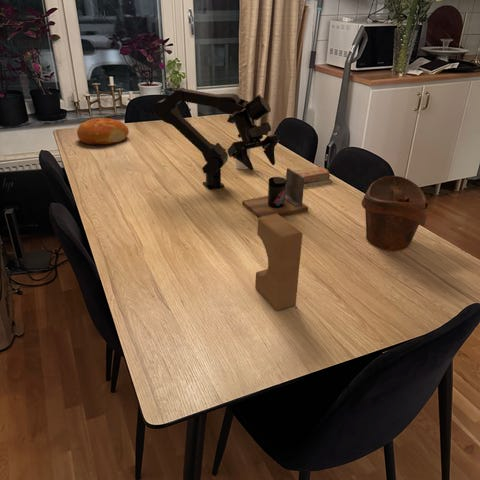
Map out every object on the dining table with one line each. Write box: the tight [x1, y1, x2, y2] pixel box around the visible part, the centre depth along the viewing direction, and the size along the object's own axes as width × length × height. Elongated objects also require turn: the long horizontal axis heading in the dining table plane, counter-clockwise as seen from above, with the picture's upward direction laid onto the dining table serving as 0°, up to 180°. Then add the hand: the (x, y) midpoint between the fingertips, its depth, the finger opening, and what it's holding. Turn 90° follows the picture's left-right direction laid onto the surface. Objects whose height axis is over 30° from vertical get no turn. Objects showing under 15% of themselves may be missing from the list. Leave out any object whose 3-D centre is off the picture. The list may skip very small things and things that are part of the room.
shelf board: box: [241, 167, 309, 219], centre depth 154 cm, size 14×18×12 cm
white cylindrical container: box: [234, 149, 251, 170], centre depth 189 cm, size 7×7×10 cm
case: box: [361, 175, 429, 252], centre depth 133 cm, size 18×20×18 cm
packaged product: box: [281, 166, 334, 188], centre depth 178 cm, size 18×5×10 cm
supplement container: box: [267, 176, 286, 208], centre depth 153 cm, size 6×6×9 cm
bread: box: [76, 117, 130, 146], centre depth 218 cm, size 23×23×10 cm
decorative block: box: [254, 214, 303, 311], centre depth 108 cm, size 11×6×20 cm, turn 26°
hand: (263, 167), depth 156 cm, fingers open, 9 cm apart
